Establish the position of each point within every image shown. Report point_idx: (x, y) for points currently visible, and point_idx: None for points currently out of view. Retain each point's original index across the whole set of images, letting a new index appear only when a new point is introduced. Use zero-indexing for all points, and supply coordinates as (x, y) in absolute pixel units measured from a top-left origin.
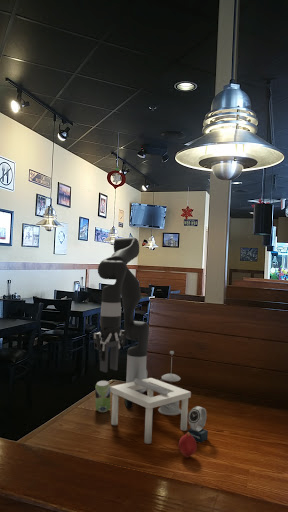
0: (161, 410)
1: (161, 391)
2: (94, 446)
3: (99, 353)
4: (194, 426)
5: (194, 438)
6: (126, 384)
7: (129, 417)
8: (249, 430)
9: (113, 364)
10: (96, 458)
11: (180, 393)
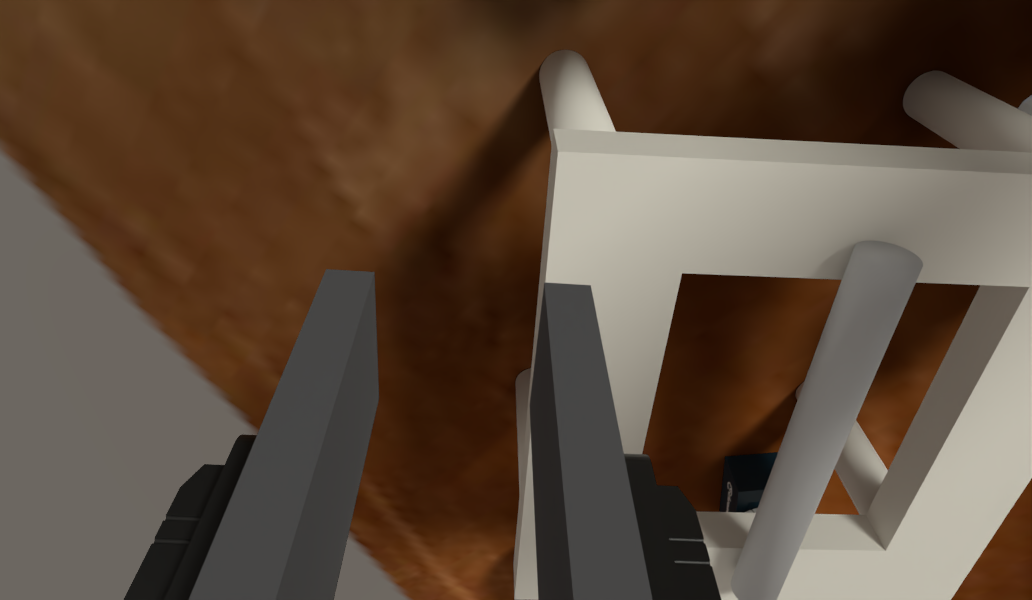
0: None
1: (741, 571)
2: (246, 259)
3: (137, 586)
4: None
5: (725, 493)
6: (765, 207)
7: (752, 49)
8: (1004, 549)
9: (539, 420)
10: (195, 359)
11: (862, 591)
